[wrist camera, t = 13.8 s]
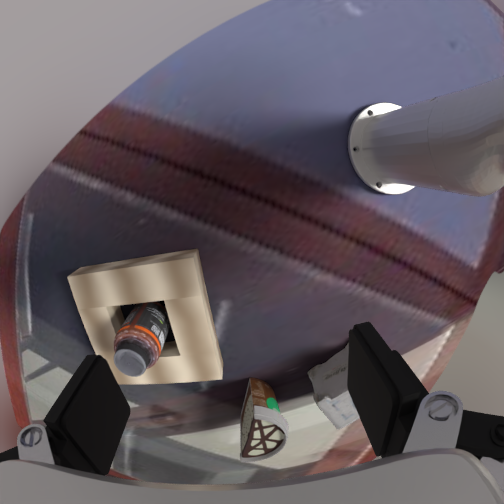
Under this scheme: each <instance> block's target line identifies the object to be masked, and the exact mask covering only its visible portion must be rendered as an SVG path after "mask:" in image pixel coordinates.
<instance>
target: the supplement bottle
mask: <svg viewBox="0 0 504 504" xmlns="http://www.w3.org/2000/svg"><path fill="white" fill-rule="evenodd" d="M170 325H171V323H170V320H169V316H168V313H167V309H166V308H165V307H164V306H163V305H161V304H160V303H158V302H155V301H154V302H145V303H138V304H136V305H135V307H134V308H133V309H132V311H131V312H130V314H129V315H128V317H127V318H126V320H125V322H124V323H123V325H122V326H121V328H120V329H119V331H118V333H117V334H116V336H115V339H114V351H115V354H114V363H115V366H116V367H117V368H118V370H120V371H121V372H122V373H123V374H125V375H128V376H131V377H138V376H141V375H142V374H143V373H144V372H145V371H146V369H148V368H151V367H152V366H154V365H155V364H156V362H157V361H158V359H159V356H160V354H161V351H162V348H163V345H164V342H165V339H166V337H167V334H168V331H169V329H170Z"/></svg>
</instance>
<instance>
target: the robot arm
mask: <svg viewBox="0 0 504 504" xmlns="http://www.w3.org/2000/svg"><path fill="white" fill-rule="evenodd" d="M367 112H368V113H369V115H368V114H367ZM353 148H355V152H354V150H353ZM348 152H349V156H350V160H351V163H352V165H353V167H354V170H355V171H356V173H357V174H358V176H359V177H360V178H361V179H362V181H363V182H364V183H365V184H367V185H368V186H369V187H371V188H372V189H374V190H376V191H378V192H381V193H385V194H391V195H396V194H402V193H405V192H408V191H409V190H411V189H413V188H414V187H415V186H416V187H423V188H429V189H435V190H441V191H447V192H452V193H458V194H463V195H469V196H478V197H480V196H487V195H490V194H492V193H494V192H496V191H498V190H499V189H500V188H501V187H503V186H504V76H502V77H499V78H497V79H494V80H492V81H489V82H487V83H484V84H481V85H478V86H475V87H471V88H468V89H465V90H461V91H457V92H454V93H450V94H446V95H443V96H439V97H435V98H432V99H428V100H425V101H421V102H418V103H415V104H411V105H408V106H405V107H401V106H398V105H395V104H392V103H377V104H373V105H371V106H369V107H366V108H365V109H363V110H362V111H361V112H360V113H359V114H358V115H357V116H356V117H355V119H354V121H353V123H352V125H351V127H350V130H349V134H348ZM376 183H377V186H376ZM347 387H348V391H349V394H350V396H351V398H352V401H353V403H354V405H355V408H356V410H357V412H358V415H359V417H360V419H361V421H362V424H363V426H364V428H365V431H366V433H367V436H368V438H369V440H370V443H371V445H372V447H373V450H374V452H375V454H376V456H381V457H382V458H381V459H378V460H374V461H370V462H366V463H362V464H358V465H354V466H350V467H346V468H342V469H338V470H333V471H328V472H324V473H318V474H313V475H308V476H302V477H296V478H289V479H282V480H275V481H266V482H255V483H242V484H220V485H190V484H168V483H155V482H145V481H136V480H128V479H121V478H115V477H109V476H105V475H106V474H108V473H109V470H110V467H111V464H112V461H113V459H114V456H115V453H116V450H117V447H118V445H119V442H120V439H121V437H122V434H123V431H124V429H125V426H126V423H127V421H128V418H129V415H130V406H129V404H128V402H127V400H126V399H125V397H124V395H123V393H122V391H121V389H120V387H119V385H118V383H117V381H116V379H115V377H114V375H113V373H112V370H111V368H110V366H109V364H108V362H107V360H106V359H104V358H103V357H102V356H101V355H87V356H86V358H85V359H84V360H83V362H82V363H81V365H80V366H79V367H78V369H77V370H76V372H75V373H74V375H73V376H72V378H71V379H70V381H69V382H68V383H67V385H66V386H65V388H64V389H63V391H62V392H61V394H60V395H59V397H58V398H57V400H56V401H55V403H54V405H53V406H52V408H51V409H50V411H49V412H48V414H47V415H46V417H45V419H44V420H43V421H44V422H45V424H46V425H47V426H46V428H44V427H43V426H42V425H39V424H32V425H29V426H27V427H25V428H24V429H23V430H22V431H21V432H20V433H19V435H18V438H17V444H18V446H16V447H14V448H12V449H9V450H7V451H5V452H3V453H0V504H504V417H503V416H497V415H490V414H484V413H478V412H472V411H467V410H463V404H462V402H461V400H460V399H459V397H458V396H456V395H454V394H453V393H451V392H447V391H437V392H433V393H430V394H429V393H428V391H427V390H426V389H425V387H424V386H423V385H422V383H421V382H420V380H419V379H418V378H417V376H416V375H415V374H414V372H413V371H412V370H411V368H410V367H409V366H408V364H407V363H406V362H405V360H404V359H403V358H402V356H401V355H400V354H399V353H398V352H397V351H396V350H393V351H391V349H390V348H389V347H388V345H387V344H386V343H385V341H384V340H383V339H382V337H381V336H380V335H379V333H378V332H377V331H376V329H375V328H374V327H373V325H372V324H371V323H370V322H365V323H361V324H356V325H354V327H353V329H352V330H350V331H349V354H348V377H347Z"/></svg>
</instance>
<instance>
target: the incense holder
mask: <svg viewBox="0 0 504 504" xmlns="http://www.w3.org/2000/svg"><path fill="white" fill-rule="evenodd" d="M348 354H349V343H348V344H347V346H346V347H345V349H343V350H341V351H340V352H338V353H337V354H335V355H334V356H333V357H331V358H330V359H329V360H328V361H327V362H325V363H322V364H321V365H316V366H315V367H313V368H312V369H311V370H309V371H308V373H307V374H308V376H309V378H310V380H311V382H312V385H313V388H314V393H315V394H314V396H313V397H314V400H315V402H316V404H317V406H318V407H319V409H320V410H321V411H323V413H324V414H325V415H326V416H327V418H328V419H329V420H330V421H331V422H332V423H333V425H334V426H335V427H336V428H337V429H342V428H343V427H345V426H347V425H349V424H351V423H352V422H354V421H356V420H357V419H359V418H360V417H359V415H358V412H357V410H356V408H355V405H354V403H353V401H352V398H351V396H350V394H349V391H348V387H347V377H348Z"/></svg>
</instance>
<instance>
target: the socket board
mask: <svg viewBox="0 0 504 504" xmlns="http://www.w3.org/2000/svg"><path fill="white" fill-rule="evenodd" d="M68 281H69V284H70V287H71V290H72V293H73V296H74V299H75V302H76V305H77V308H78V311H79V313H80V316H81V319H82V321H83V324H84V327H85V329H86V332H87V334H88V337H89V339H90V342H91V344H92V346H93V349H94V351H95V353H96V355H101V356H102V357H103V358H104V359H106V360H107V362H108V364H109V366H110V368H111V370H112V373H113V375H114V377H115V379H116V381H117V383H118V384H163V383H183V382H197V381H209V380H219V379H222V373H223V360H222V356H221V352H220V348H219V344H218V340H217V335H216V331H215V327H214V323H213V318H212V314H211V309H210V305H209V300H208V295H207V291H206V286H205V281H204V276H203V272H202V267H201V262H200V257H199V251H198V249H191V250H185V251H178V252H172V253H166V254H159V255H153V256H147V257H141V258H134V259H128V260H122V261H116V262H110V263H104V264H98V265H92V266H86V267H80V268H79V269H77V270H76V271H75V272H73V273H72V274H70V275H69V276H68ZM162 300H164V302H165V306H166V309H167V313H168V316H169V320H170V323H171V327H172V330H173V334H174V337H175V340H176V341H171V342H164V345H163V348H162V351H161V354H160V356H159V359H158V361H157V362H156V364H155V365H154V366H152V367H151V368H148V369H146V371H145V372H144V373H143V374H142V375H141V376H138V377H131V376H128V375H125V374H123V373H122V372H121V371H120V370H118V368H117V367H116V366H115V363H114V354H115V351H114V339H115V336H116V334H117V333H118V331H119V329H120V328H121V326H122V325H123V323H124V322H125V320H124V317H123V314H122V311H121V307H120V305H127V304H136V303H145V302H154V301H162Z"/></svg>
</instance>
